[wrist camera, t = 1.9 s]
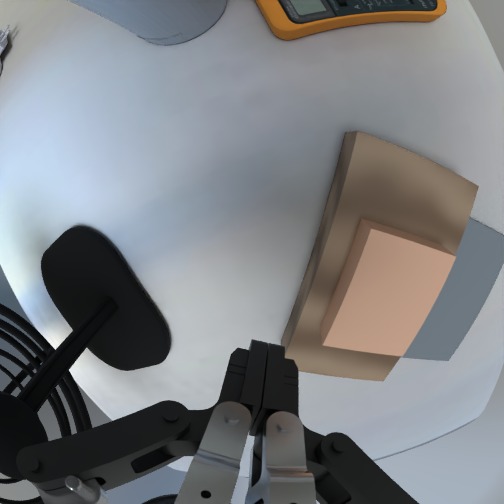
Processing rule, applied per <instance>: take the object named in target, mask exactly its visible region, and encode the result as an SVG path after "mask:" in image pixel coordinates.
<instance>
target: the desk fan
mask: <svg viewBox="0 0 504 504" xmlns="http://www.w3.org/2000/svg"><path fill="white" fill-rule="evenodd" d="M41 271H42V277H43V280H44V284H45V286H46V289H47V291H48V293H49V295H50V297H51V299H52V301H53V302H54V304H55V305H56V307H57V308H58V310H59V311H60V313H61V314H62V316H63V317H64V318H65V320H66V321H67V322H68V324H69V325H70V327H71V328H72V329H73V331H72V332H71V333H70V335H69V336H68V337H67V338H66V339H65V340H64V341H63V342H62V343H61V344H60V346H59V347H58V348H57V349H56V350H55V349H54V348H53V347H52V346H51V345H50V344H49V342H48V341H47V340H46V339H45V338H44V337H43V336H42V335H41V334H40V333H39V332H38V331H37V330H36V329H35V328H34V327H33V326H32V325H30V323H28V322H27V321H26V320H25V319H24V318H22V317H21V316H20V315H18V314H17V313H15V312H14V311H12V310H11V309H9V308H7V307H6V306H4V305H2V304H0V314H1V315H3V316H5V317H7V318H8V319H10V320H11V321H13V322H14V323H16V324H17V325H18V326H20V327H21V328H22V329H23V330H24V331H26V332H27V333H28V334H29V335H30V336H31V337H32V338H33V339H34V340H35V341H36V342H37V343H38V344H39V345H40V346H41V347H42V348H43V349H44V350H43V351H42V350H41V349H40V348H39V347H38V346H37V345H36V344H35V343H34V342H33V341H32V340H31V339H30V338H29V337H27V336H26V335H25V334H24V333H22V332H21V331H20V330H18V329H17V328H15V327H14V326H12V325H11V324H9V323H7V322H5V321H3V320H2V319H0V328H2V329H4V330H5V331H7V332H9V333H11V334H12V335H14V336H15V337H17V338H18V339H19V340H20V341H22V342H23V343H24V344H25V345H26V346H28V347H29V348H30V349H31V350H32V351H33V352H34V353H35V354H36V355H37V356H36V357H35V358H34V357H33V356H32V355H31V353H30V352H29V351H28V350H27V349H26V348H24V346H22V345H21V344H20V343H19V342H18V341H17V340H15V339H14V338H13V337H11V336H10V335H8V334H7V333H5V332H4V331H2V330H0V337H1V338H2V339H4V340H5V341H7V342H8V343H10V344H11V345H12V346H13V347H15V348H16V349H17V350H18V351H19V352H20V353H22V354H23V355H24V356H25V357H26V358H27V359H28V361H29V362H30V363H29V364H28V365H27V366H26V365H25V364H24V363H23V362H21V361H20V360H19V359H17V358H16V357H14V356H13V355H11V354H9V353H8V352H6V351H4V350H2V349H0V355H1V356H4V357H6V358H7V359H9V360H11V361H12V362H14V363H15V364H17V365H18V366H19V367H21V368H22V369H23V370H22V371H21V372H20V373H19V374H18V375H17V376H16V377H14V375H13V374H11V373H10V372H9V371H8V370H7V369H6V368H4V367H3V366H2V365H1V364H0V369H1V370H2V371H3V372H5V373H6V374H7V375H8V376H9V377H10V378H11V379H12V381H11V382H10V384H9V385H8V386H7V387H6V388H5V389H4V390H3V391H0V473H2V474H4V475H6V476H8V477H11V478H10V479H0V483H2V484H10V483H16V482H19V481H21V480H26V479H25V478H24V477H23V476H22V475H21V473H20V472H19V470H18V467H17V464H16V458H17V454H18V452H19V451H20V450H21V449H23V448H24V447H28V446H32V445H36V444H40V443H44V442H48V437H47V434H46V431H45V429H44V427H43V425H42V423H41V421H40V420H39V417H38V414H37V412H38V411H39V409H40V408H41V406H42V405H43V404H44V402H45V401H46V399H48V401H49V403H50V405H51V406H52V409H53V411H54V413H55V415H56V418H57V421H58V424H59V427H60V431H61V436H62V438H63V437H66V436H69V435H72V434H71V429H70V424H69V420H68V417H67V414H66V411H65V408H64V405H63V403H62V401H61V398H60V396H59V394H58V392H57V390H56V388H55V387H56V386H57V385H59V386H60V388H61V390H62V392H63V394H64V396H65V398H66V400H67V402H68V405H69V407H70V410H71V412H72V415H73V418H74V422H75V425H76V430H77V433H79V432H82V431H85V430H88V429H91V428H92V424H91V421H90V417H89V414H88V411H87V408H86V405H85V402H84V400H83V397H82V395H81V393H80V391H79V389H78V386H77V384H76V382H75V381H74V379H73V377H72V375H71V373H70V372H69V369H70V368H71V366H72V365H73V364H74V363H75V361H76V360H77V359H78V357H79V356H80V355H81V354H82V352H83V351H84V350H85V349H86V348H88V349H89V350H90V351H91V352H92V353H93V354H94V355H95V356H97V357H98V358H99V359H101V360H102V361H103V362H105V363H106V364H108V365H110V366H112V367H114V368H117V369H120V370H124V371H130V370H135V369H140V368H144V367H149V366H153V365H157V364H160V363H162V362H163V361H164V360H165V359H166V357H167V355H168V353H169V351H170V338H169V334H168V331H167V328H166V326H165V324H164V322H163V320H162V319H161V317H160V315H159V314H158V312H157V311H156V310H155V308H154V307H153V305H152V304H151V303H150V301H149V300H148V298H147V297H146V296H145V294H144V293H143V291H142V290H141V288H140V287H139V285H138V284H137V282H136V281H135V279H134V278H133V276H132V275H131V273H130V272H129V270H128V269H127V267H126V266H125V264H124V263H123V261H122V260H121V258H120V257H119V255H118V254H117V253H116V251H115V250H114V249H113V248H112V247H111V245H110V244H109V243H108V242H107V241H106V240H105V239H103V238H102V237H101V236H100V235H98V234H97V233H95V232H94V231H92V230H90V229H88V228H84V227H73V228H70V229H69V230H67V231H65V232H64V233H63V234H62V235H61V236H60V237H59V238H58V239H57V240H56V241H55V242H54V243H53V244H52V245H51V246H50V247H49V248H48V249H47V250H46V251H45V252H44V254H43V256H42V260H41ZM42 362H43V363H42ZM40 363H42V365H40ZM34 369H36V370H37V372H36V373H34V372H33V371H32V370H34ZM27 375H30V377H32V378H31V380H30V381H29V382H28V383H27V384H26V386H25V387H23V386H22V385H21V384H20V383H21V382H22V381H23V380H24V379H25V378H26V377H27ZM63 378H64V379H63ZM66 383H67V384H66ZM67 385H68V386H67ZM17 386H18V387H19V388H20V390H21V392H20V393H19V395H18V396H17V397H15V396H13V395H10V394H11V393H12V392H13V391H14V389H15V388H16V387H17ZM51 394H52V396H53V397H52V396H51ZM0 503H2V504H44V502H43V500H42V498H41V496H39V497H36V498H34V499H30V500H24V501H14V500H7V499H4V498H0Z"/></svg>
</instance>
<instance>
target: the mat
mask: <svg viewBox="0 0 504 504" xmlns="http://www.w3.org/2000/svg"><path fill="white" fill-rule="evenodd" d="M455 256H456V259H455V261H454V263H453V266H452V268H451V270H450V272H449V275H448V277H447V279H446V281H445V283H444V285H443V287H442V289H441V291H440V293H439V295H438V297H437V299H436V301H435V303H434V305H433V307H432V309H431V310H430V312H429V314H428V316H427V318H426V319H425V321H424V323H423V325H422V326H421V328H420V330H419V331H418V333H417V335H416V336H415V338H414V340H413V341H412V343H411V344H410V346H409V347H408V349H407V351H406V352H405V354H404V355H403V356H401V357H404V358H414V359H426V360H441V361H449V359H450V358H451V356H452V355H453V354H454V352H455V351H456V349H457V348H458V346H459V345H460V343H461V342H462V340H463V339H464V337H465V336H466V334H467V332H468V331H469V329H470V328H471V326H472V324H473V323H474V321H475V319H476V317H477V316H478V314H479V312H480V310H481V309H482V307H483V305H484V303H485V301H486V299H487V297H488V295H489V293H490V291H491V289H492V287H493V285H494V283H495V281H496V279H497V277H498V275H499V272H500V270H501V268H502V265H503V263H504V236H503V235H501V234H500V233H498V232H496V231H494V230H492V229H490V228H489V227H487V226H485V225H483V224H481V223H479V222H477V221H475V220H473V219H471V218H469V220H468V223H467V225H466V228H465V231H464V234H463V236H462V239H461V242H460V244H459V247H458V249H457V252H456V254H455Z"/></svg>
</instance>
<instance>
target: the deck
mask: <svg viewBox="0 0 504 504" xmlns="http://www.w3.org/2000/svg"><path fill="white" fill-rule="evenodd" d="M477 190H478V186H477V185H476V184H474V183H472V182H470V181H469V180H467V179H465V178H463V177H462V176H460V175H458V174H456V173H454V172H452V171H450V170H448V169H446V168H445V167H443V166H441V165H439V164H437V163H435V162H432V161H430V160H428V159H426V158H424V157H422V156H420V155H417V154H415V153H413V152H411V151H408V150H406V149H404V148H401V147H399V146H397V145H394V144H392V143H389V142H387V141H384V140H381V139H379V138H376V137H373V136H371V135H368V134H365V133H362V132H359V131H354V132H348V133H345V137H344V141H343V145H342V149H341V153H340V157H339V161H338V165H337V169H336V172H335V176H334V180H333V184H332V187H331V191H330V194H329V198H328V201H327V205H326V208H325V212H324V215H323V219H322V222H321V225H320V229H319V232H318V235H317V239H316V242H315V245H314V248H313V251H312V254H311V258H310V261H309V264H308V267H307V270H306V273H305V276H304V279H303V282H302V285H301V288H300V291H299V294H298V296H297V299H296V302H295V305H294V308H293V311H292V313H291V316H290V319H289V322H288V324H287V327H286V330H285V333H284V335H283V338H282V341H281V346H285V358H288V359H293V360H294V361H295V363H296V365H297V367H298V371H301V372H307V373H314V374H321V375H328V376H335V377H343V378H352V379H362V380H373V381H384V380H385V378H386V377H387V375H388V374H389V373H390V371H391V370H392V368H393V367H394V366H395V364H396V363H397V361H398V360H399V358H400V357H401V356H393V355H385V354H377V353H369V352H362V351H355V350H348V349H342V348H335V347H329V346H324V345H323V344H322V337H321V330H320V325H321V323H322V321H323V318H324V316H325V314H326V311H327V309H328V307H329V304H330V302H331V300H332V297H333V295H334V292H335V290H336V287H337V285H338V282H339V280H340V277H341V274H342V272H343V269H344V267H345V264H346V261H347V258H348V256H349V253H350V250H351V247H352V244H353V242H354V239H355V236H356V233H357V230H358V227H359V224H360V221H361V218H363V219H366V220H369V221H373V222H376V223H379V224H382V225H385V226H388V227H392V228H395V229H398V230H401V231H404V232H407V233H410V234H413V235H416V236H418V237H421V238H424V239H427V240H430V241H433V242H435V243H438V244H441V245H443V246H444V247H445V248H446V249H448V250H449V251H450V252H451V253H452V254H454V255H455V254H456V252H457V249H458V247H459V244H460V242H461V239H462V236H463V234H464V231H465V228H466V225H467V223H468V220H469V217H470V214H471V210H472V207H473V204H474V201H475V197H476V194H477Z"/></svg>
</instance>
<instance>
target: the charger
mask: <svg viewBox="0 0 504 504" xmlns="http://www.w3.org/2000/svg"><path fill="white" fill-rule="evenodd" d="M8 27H9V25H8V26H7V27H6V28H5V30H4V31H0V55H1V53H2V52H3V50H4V48H5V47H6V45H7V43H8V42H7V35H8V34H9V32H10V30H8V32H7V33H6V35H5V32H6V30H7V29H8ZM1 69H2V63H1V58H0V74H1Z"/></svg>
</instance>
